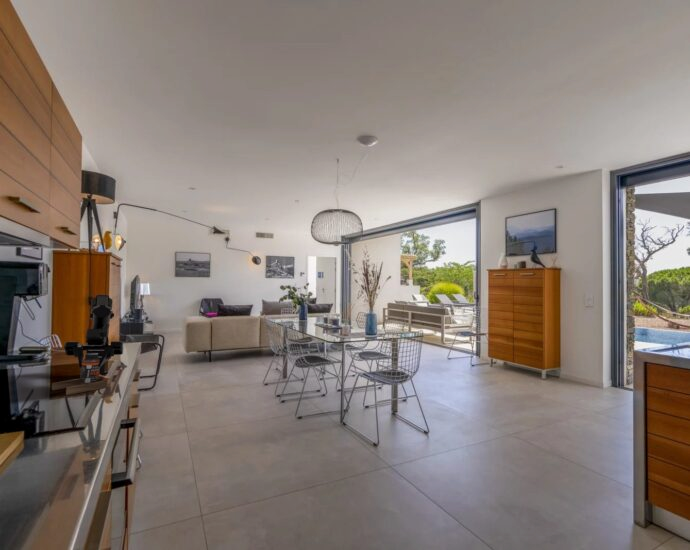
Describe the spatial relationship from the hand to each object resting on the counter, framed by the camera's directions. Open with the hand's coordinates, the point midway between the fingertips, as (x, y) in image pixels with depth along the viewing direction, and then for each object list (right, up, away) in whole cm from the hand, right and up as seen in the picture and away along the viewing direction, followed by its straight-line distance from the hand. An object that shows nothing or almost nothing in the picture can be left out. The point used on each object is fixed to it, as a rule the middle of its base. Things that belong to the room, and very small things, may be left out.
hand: (89, 366), depth 136 cm
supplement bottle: (-1, -7, +1) cm, 7 cm away
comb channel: (-2, -8, -2) cm, 8 cm away
